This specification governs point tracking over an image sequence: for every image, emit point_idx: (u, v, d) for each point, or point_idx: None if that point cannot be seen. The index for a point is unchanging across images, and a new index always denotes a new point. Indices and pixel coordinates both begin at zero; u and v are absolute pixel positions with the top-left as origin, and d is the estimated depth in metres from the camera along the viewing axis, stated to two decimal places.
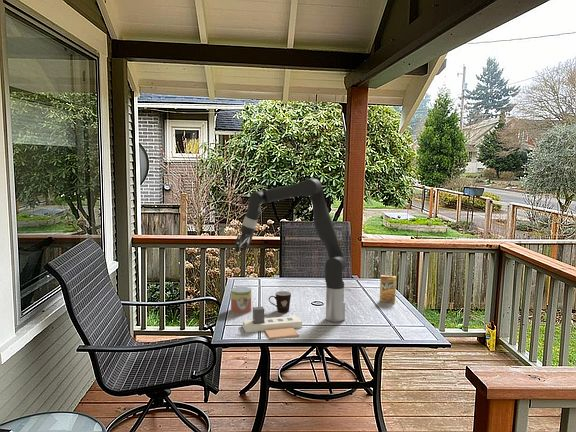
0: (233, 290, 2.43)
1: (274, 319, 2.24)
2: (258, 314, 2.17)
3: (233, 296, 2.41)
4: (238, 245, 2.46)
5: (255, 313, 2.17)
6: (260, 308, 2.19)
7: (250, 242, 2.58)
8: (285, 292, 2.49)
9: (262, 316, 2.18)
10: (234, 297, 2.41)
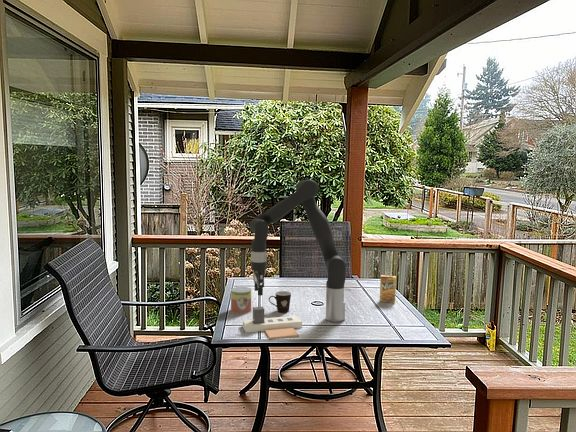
0: (233, 290, 2.43)
1: (274, 319, 2.24)
2: (258, 314, 2.17)
3: (233, 296, 2.41)
4: None
5: (255, 313, 2.17)
6: (260, 308, 2.19)
7: None
8: (285, 292, 2.49)
9: (262, 316, 2.18)
10: (234, 297, 2.41)
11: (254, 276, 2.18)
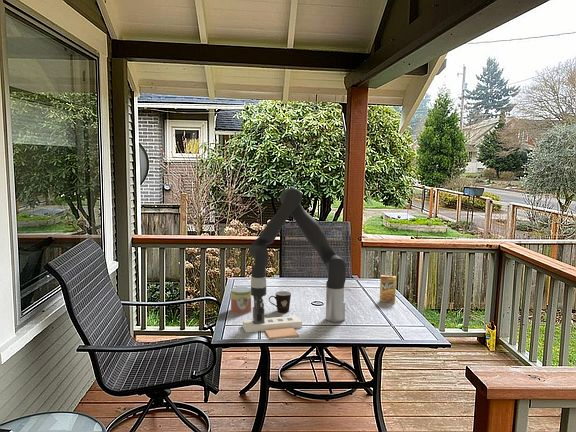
0: (233, 290, 2.43)
1: (274, 319, 2.24)
2: None
3: (233, 296, 2.41)
4: None
5: (255, 313, 2.17)
6: None
7: None
8: (285, 292, 2.49)
9: (262, 316, 2.18)
10: (234, 297, 2.41)
11: (254, 301, 2.19)
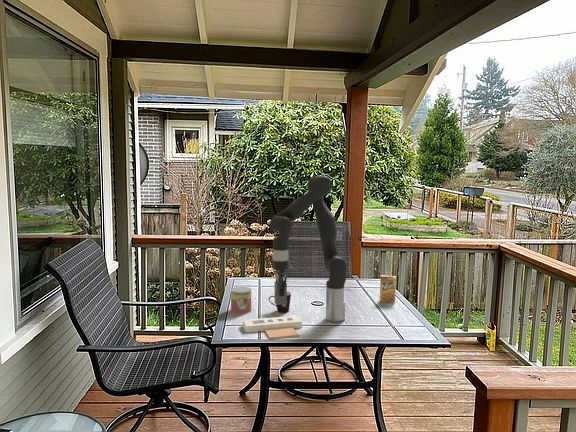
0: (233, 290, 2.43)
1: (274, 319, 2.24)
2: None
3: (233, 296, 2.41)
4: (285, 286, 2.06)
5: (277, 288, 2.08)
6: None
7: (281, 281, 2.15)
8: None
9: (284, 291, 2.09)
10: (234, 297, 2.41)
11: (276, 275, 2.11)
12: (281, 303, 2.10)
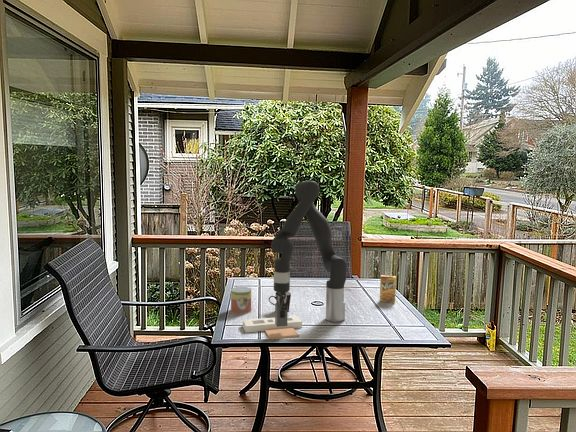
0: (233, 290, 2.43)
1: (274, 319, 2.24)
2: None
3: (233, 296, 2.41)
4: (286, 308, 2.07)
5: (278, 310, 2.09)
6: None
7: None
8: None
9: (285, 312, 2.10)
10: (234, 297, 2.41)
11: (277, 297, 2.11)
12: (282, 325, 2.10)
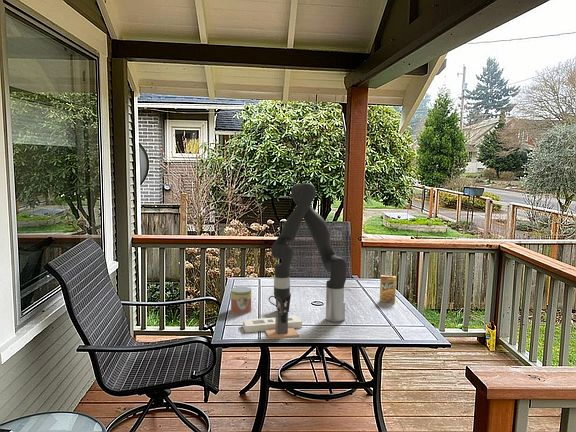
0: (233, 290, 2.43)
1: (274, 319, 2.24)
2: None
3: (233, 296, 2.41)
4: (287, 313, 2.05)
5: (278, 317, 2.09)
6: None
7: None
8: None
9: None
10: (234, 297, 2.41)
11: (277, 302, 2.12)
12: (282, 332, 2.11)
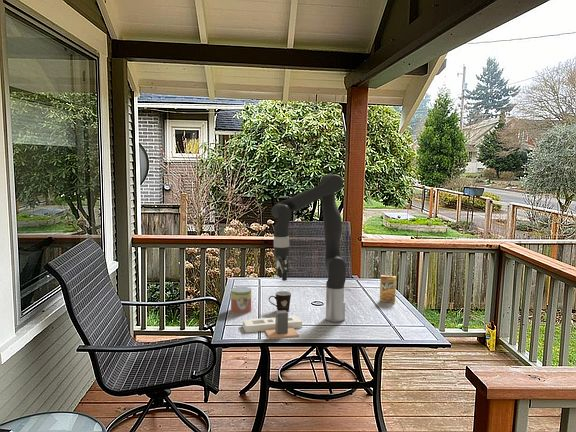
0: (233, 290, 2.43)
1: (274, 319, 2.24)
2: (281, 318, 2.10)
3: (233, 296, 2.41)
4: None
5: (278, 317, 2.09)
6: (283, 312, 2.11)
7: None
8: (285, 292, 2.49)
9: (285, 320, 2.10)
10: (234, 297, 2.41)
11: (277, 262, 2.17)
12: (282, 332, 2.11)
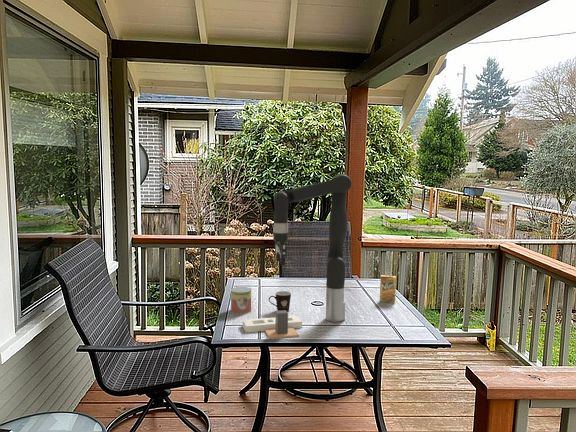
0: (233, 290, 2.43)
1: (274, 319, 2.24)
2: (281, 318, 2.10)
3: (233, 296, 2.41)
4: (286, 255, 2.21)
5: (278, 317, 2.09)
6: (283, 312, 2.11)
7: None
8: (285, 292, 2.49)
9: (285, 320, 2.10)
10: (234, 297, 2.41)
11: (276, 247, 2.28)
12: (282, 332, 2.11)
